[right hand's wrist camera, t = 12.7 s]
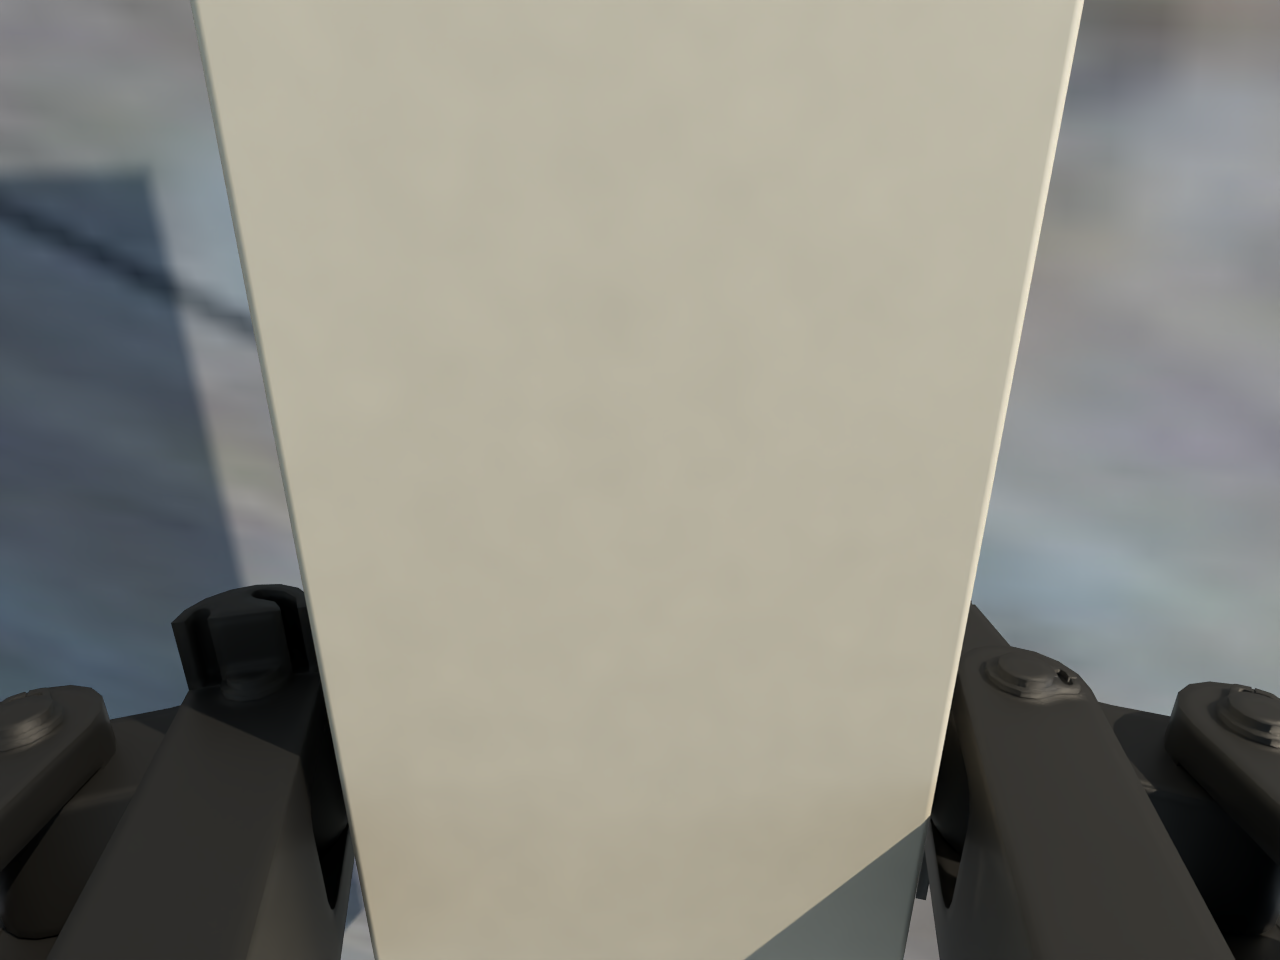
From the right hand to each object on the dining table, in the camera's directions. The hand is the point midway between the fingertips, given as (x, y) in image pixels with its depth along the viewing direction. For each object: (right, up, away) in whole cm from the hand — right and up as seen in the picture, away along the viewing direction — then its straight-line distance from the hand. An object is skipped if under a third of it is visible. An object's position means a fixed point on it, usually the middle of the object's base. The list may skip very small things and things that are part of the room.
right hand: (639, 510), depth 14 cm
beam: (0, +10, -4) cm, 11 cm away
